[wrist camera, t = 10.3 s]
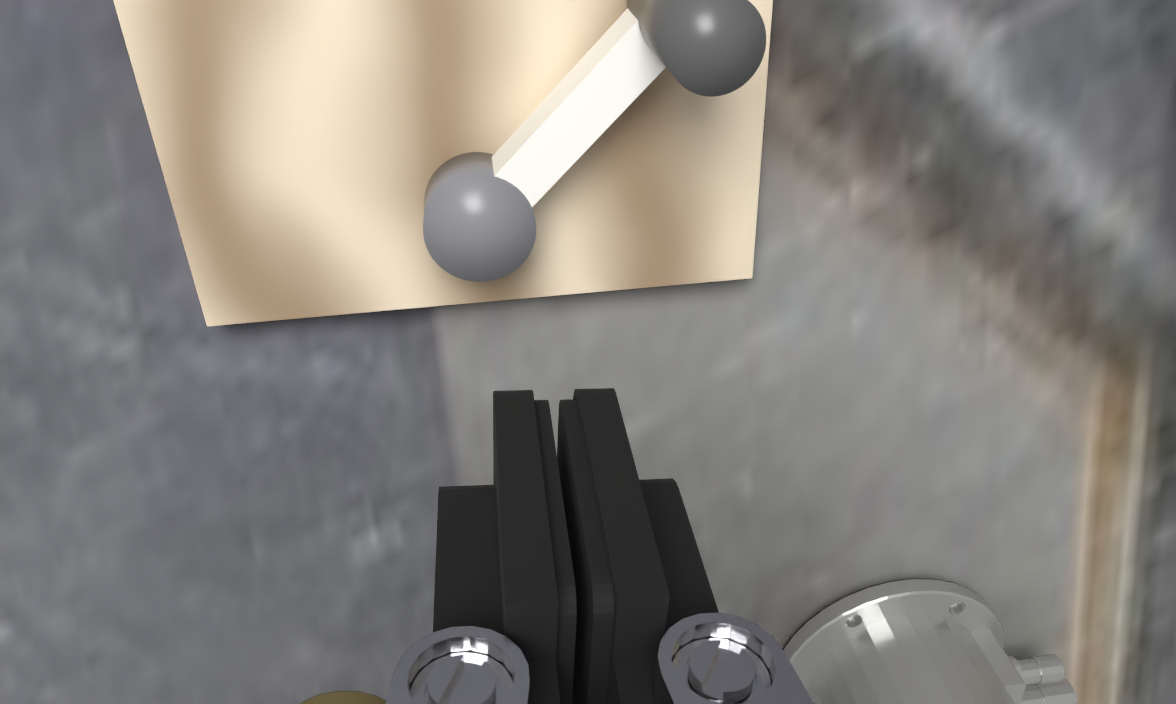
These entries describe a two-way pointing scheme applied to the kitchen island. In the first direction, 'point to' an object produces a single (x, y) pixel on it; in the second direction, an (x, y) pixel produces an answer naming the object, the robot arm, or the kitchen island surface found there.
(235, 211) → the dial board
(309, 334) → the kitchen island surface
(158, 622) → the kitchen island surface
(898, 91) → the kitchen island surface
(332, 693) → the cork
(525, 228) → the tuner needle
